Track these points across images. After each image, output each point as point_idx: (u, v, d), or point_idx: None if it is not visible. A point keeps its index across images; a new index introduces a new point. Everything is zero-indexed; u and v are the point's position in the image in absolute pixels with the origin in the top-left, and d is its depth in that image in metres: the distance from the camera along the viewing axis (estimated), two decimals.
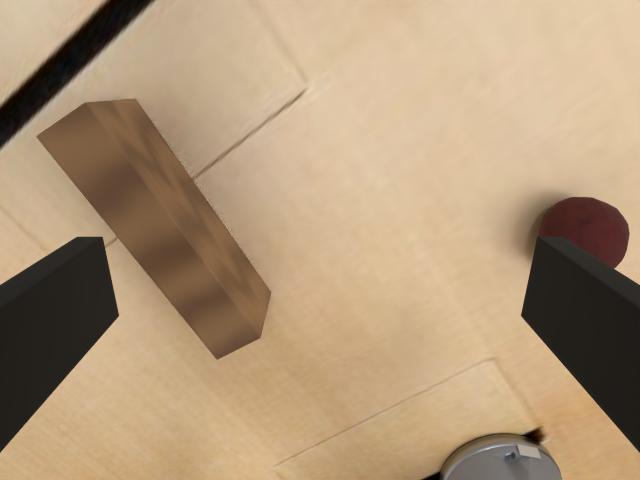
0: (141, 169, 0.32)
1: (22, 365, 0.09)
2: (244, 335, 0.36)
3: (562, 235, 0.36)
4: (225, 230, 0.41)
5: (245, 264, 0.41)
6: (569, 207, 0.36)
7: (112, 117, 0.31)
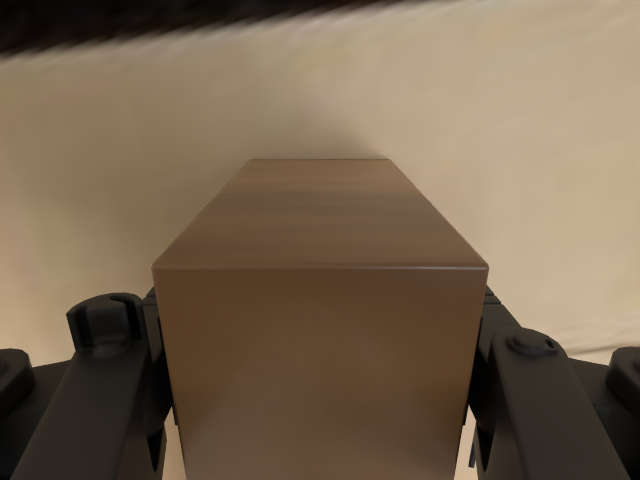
0: None
1: None
2: None
3: None
4: None
5: None
6: None
7: None
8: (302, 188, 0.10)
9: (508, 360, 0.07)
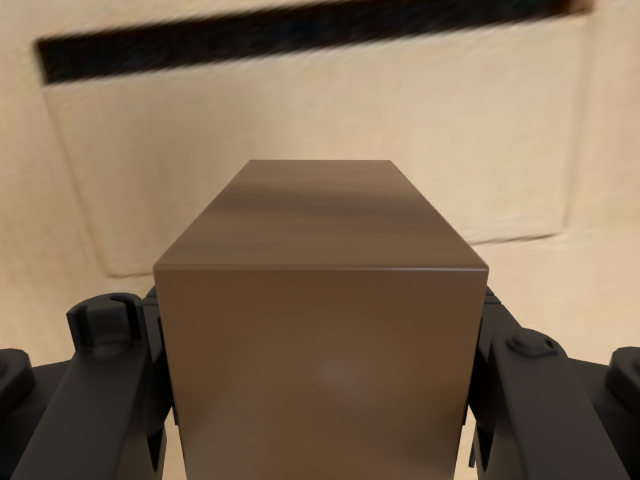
0: None
1: None
2: None
3: None
4: None
5: None
6: None
7: None
8: (302, 189, 0.10)
9: (507, 360, 0.07)
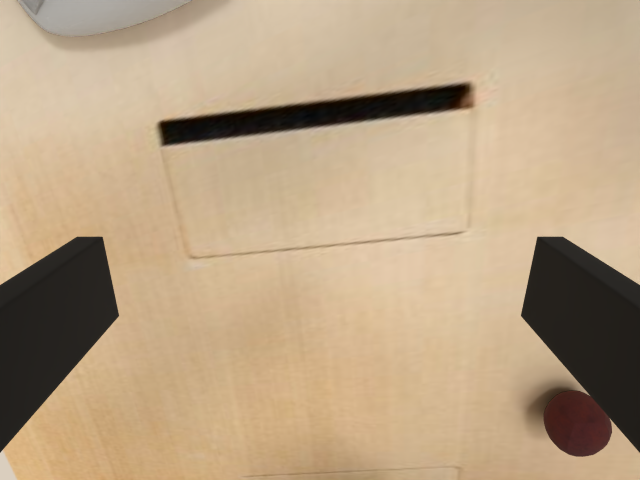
0: None
1: (22, 365, 0.09)
2: None
3: (572, 420, 0.48)
4: None
5: None
6: (583, 402, 0.49)
7: None
8: None
9: None
